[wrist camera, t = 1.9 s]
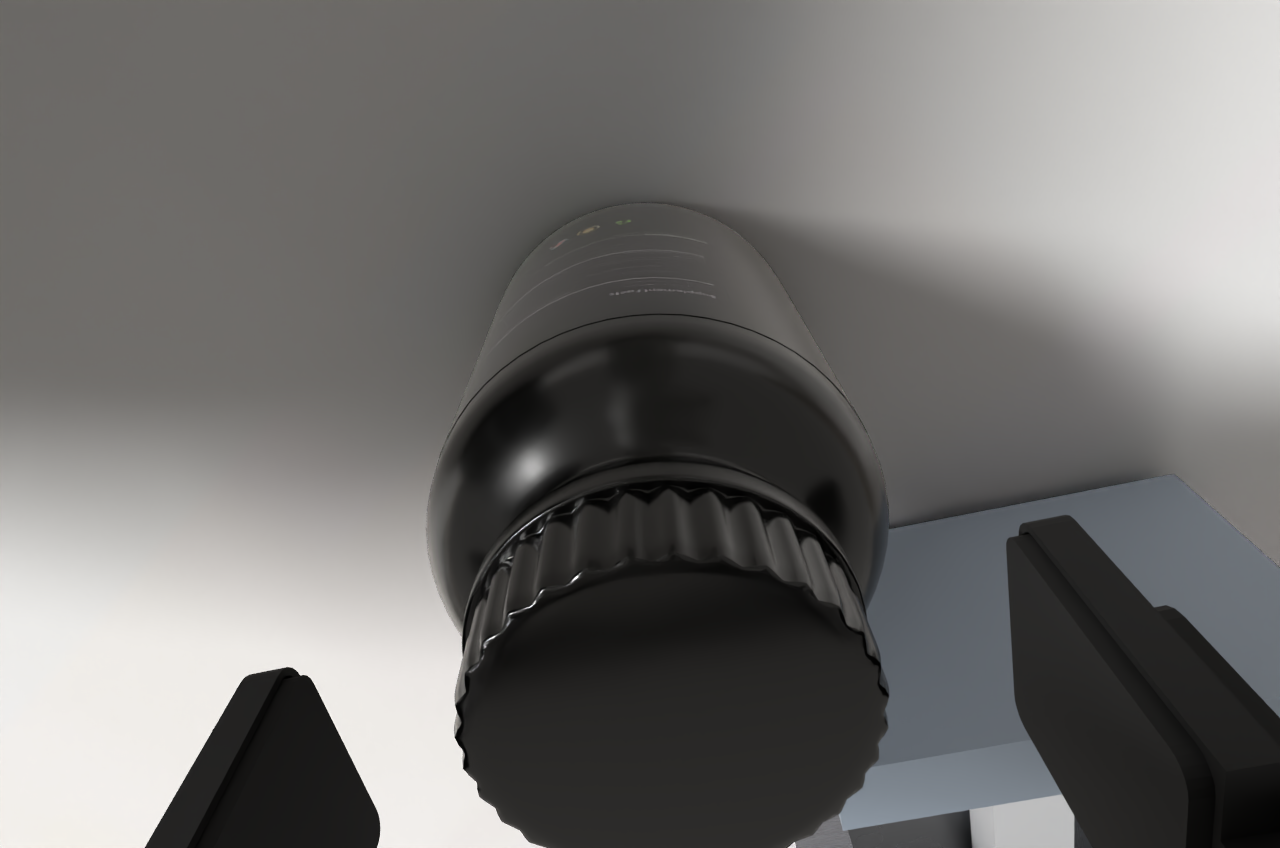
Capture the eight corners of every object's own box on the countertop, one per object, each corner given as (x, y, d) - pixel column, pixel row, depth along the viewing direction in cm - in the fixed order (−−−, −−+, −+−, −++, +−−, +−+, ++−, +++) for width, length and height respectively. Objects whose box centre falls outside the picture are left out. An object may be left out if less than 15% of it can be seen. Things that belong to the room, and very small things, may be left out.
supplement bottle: (823, 418, 21) (1033, 865, 10) (564, 502, 22) (510, 991, 11) (741, 143, 18) (915, 373, 7) (445, 255, 19) (220, 600, 8)
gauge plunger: (773, 551, 22) (855, 859, 14) (1257, 457, 21) (1627, 732, 13) (833, 870, 28) (915, 1213, 20) (1217, 807, 27) (1460, 1143, 19)
